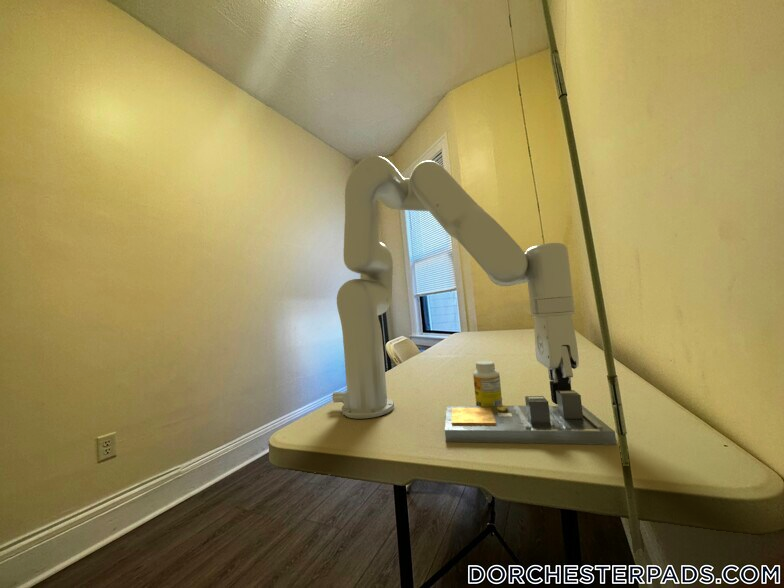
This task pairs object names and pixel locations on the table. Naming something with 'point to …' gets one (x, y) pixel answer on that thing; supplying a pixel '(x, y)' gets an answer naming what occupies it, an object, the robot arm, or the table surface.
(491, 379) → the supplement bottle
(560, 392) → the block
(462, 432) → the panel
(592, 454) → the table surface
